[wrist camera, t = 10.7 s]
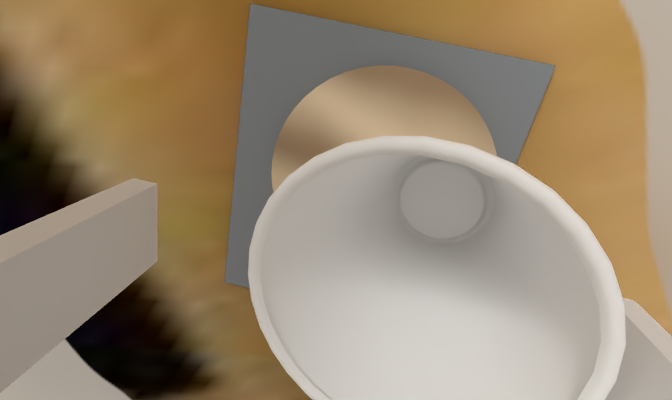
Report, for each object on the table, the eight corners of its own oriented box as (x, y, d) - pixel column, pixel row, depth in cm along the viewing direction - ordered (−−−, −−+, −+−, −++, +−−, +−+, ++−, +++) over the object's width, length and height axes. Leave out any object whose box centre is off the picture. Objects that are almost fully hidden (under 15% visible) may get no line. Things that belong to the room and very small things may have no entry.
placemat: (252, 4, 19) (250, 3, 18) (552, 65, 17) (555, 65, 17) (227, 278, 25) (224, 281, 25) (443, 337, 24) (444, 341, 24)
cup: (562, 269, 18) (659, 493, 8) (382, 286, 22) (305, 445, 12) (522, 76, 16) (586, 68, 6) (334, 137, 20) (200, 188, 11)
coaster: (291, 43, 19) (287, 42, 18) (533, 94, 18) (538, 94, 17) (263, 248, 23) (260, 253, 23) (452, 298, 22) (454, 303, 22)
